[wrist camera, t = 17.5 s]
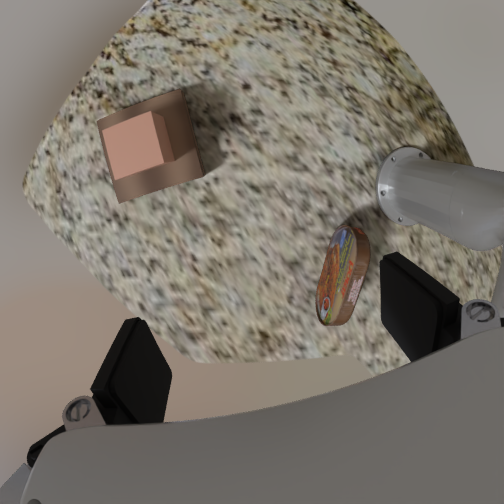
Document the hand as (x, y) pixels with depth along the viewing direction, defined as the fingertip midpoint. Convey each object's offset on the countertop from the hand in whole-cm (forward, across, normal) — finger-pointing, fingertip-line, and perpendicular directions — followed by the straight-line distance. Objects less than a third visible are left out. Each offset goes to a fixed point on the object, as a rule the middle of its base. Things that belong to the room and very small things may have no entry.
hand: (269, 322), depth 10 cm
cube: (+27, +10, -10) cm, 31 cm away
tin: (+31, -11, +14) cm, 35 cm away
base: (+30, +10, -10) cm, 33 cm away
